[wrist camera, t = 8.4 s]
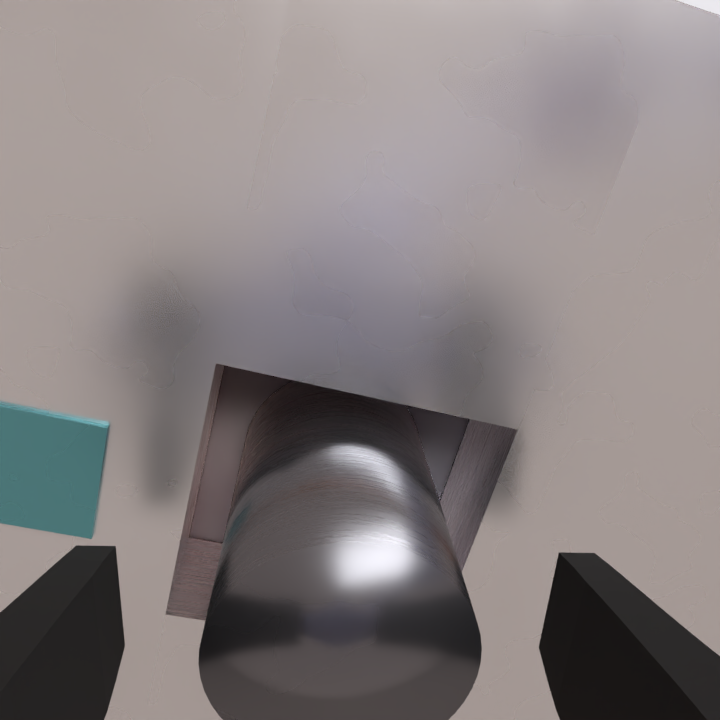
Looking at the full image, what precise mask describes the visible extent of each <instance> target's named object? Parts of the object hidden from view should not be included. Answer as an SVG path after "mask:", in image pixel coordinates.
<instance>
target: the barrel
mask: <svg viewBox="0 0 720 720" xmlns="http://www.w3.org/2000/svg"><path fill="white" fill-rule="evenodd" d="M481 652H482V645H481V634H480V631H479V627H478V623H477V620H476V616H475V613H474V610H473V607H472V604H471V600H470V597H469V594H468V591H467V588H466V584H465V581H464V578H463V575H462V572H461V568H460V565H459V562H458V559H457V556H456V552H455V549H454V546H453V543H452V540H451V536H450V533H449V530H448V527H447V524H446V520H445V517H444V514H443V511H442V508H441V504H440V501H439V498H438V495H437V492H436V488H435V485H434V482H433V479H432V476H431V472H430V469H429V466H428V463H427V460H426V456H425V453H424V450H423V447H422V444H421V440H420V437H419V434H418V431H417V428H416V424H415V422H414V420H413V418H412V415H411V414H410V412H409V411H408V409H407V407H406V406H405V405H403V404H399V403H394V402H390V401H385V400H381V399H376V398H372V397H367V396H362V395H358V394H353V393H349V392H344V391H340V390H335V389H330V388H326V387H321V386H317V385H312V384H308V383H303V382H299V381H292V382H290V383H288V384H287V385H285V386H283V387H281V388H280V389H279V390H277V391H276V392H275V393H273V394H272V395H271V396H270V397H269V398H268V399H267V400H266V401H265V402H264V403H263V404H262V405H261V407H260V408H259V409H258V411H257V412H256V414H255V416H254V418H253V419H252V421H251V424H250V427H249V429H248V432H247V437H246V441H245V446H244V450H243V455H242V459H241V464H240V468H239V473H238V477H237V482H236V486H235V491H234V495H233V500H232V504H231V509H230V513H229V517H228V522H227V526H226V531H225V535H224V540H223V544H222V549H221V553H220V558H219V562H218V567H217V571H216V576H215V580H214V585H213V589H212V594H211V598H210V602H209V607H208V611H207V616H206V620H205V625H204V629H203V634H202V638H201V643H200V648H199V662H198V665H199V672H200V679H201V682H202V685H203V688H204V692H205V694H206V696H207V698H208V700H209V702H210V704H211V705H212V707H213V708H214V709H215V711H216V712H217V714H218V715H219V716H220V717H221V718H222V719H223V720H449V719H450V718H451V717H452V716H453V715H454V714H455V713H456V711H457V710H458V709H459V708H460V706H461V705H462V704H463V703H464V701H465V700H466V698H467V696H468V695H469V693H470V691H471V690H472V688H473V685H474V683H475V680H476V678H477V675H478V671H479V667H480V663H481Z"/></svg>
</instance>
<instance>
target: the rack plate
mask: <svg viewBox="0 0 720 720" xmlns="http://www.w3.org/2000/svg"><path fill="white" fill-rule="evenodd" d="M224 365H226V366H230V367H235V368H239V369H244V370H248V371H253V372H257V373H262V374H267V375H271V376H276V377H280V378H285V379H289V380H294V381H299V382H303V383H308V384H312V385H317V386H321V387H326V388H330V389H335V390H340V391H344V392H349V393H353V394H358V395H362V396H367V397H372V398H376V399H381V400H385V401H390V402H394V403H399V404H403V405H408V406H413V407H417V408H422V409H426V410H431V411H435V412H440V413H445V414H449V415H454V416H458V417H463V418H467V419H470V420H469V423H468V425H467V428H466V431H465V434H464V437H463V439H462V442H461V445H460V448H459V450H458V453H457V456H456V459H455V461H454V464H453V467H452V470H451V472H450V475H449V478H448V481H447V484H446V486H445V489H444V492H443V495H442V497H441V500H440V504H441V508H442V511H443V514H444V517H445V520H446V524H447V527H448V530H449V533H450V536H451V540H452V543H453V546H454V549H455V552H456V556H457V559H458V562H459V565H460V568H461V572H462V575H463V578H464V581H465V584H466V588H467V591H468V594H469V597H470V600H471V604H472V607H473V610H474V613H475V616H476V620H477V623H478V627H479V631H480V634H481V645H482V652H481V663H480V667H479V671H478V675H477V678H476V680H475V683H474V685H473V688H472V690H471V691H470V693H469V695H468V696H467V698H466V700H465V701H464V703H463V704H462V705H461V706H460V708H459V709H458V710H457V711H456V713H455V714H454V715H453V716H452V717H451V718H450V719H449V720H560V719H559V716H558V714H557V711H556V708H555V705H554V701H553V698H552V695H551V691H550V688H549V684H548V681H547V677H546V673H545V669H544V666H543V662H542V658H541V654H540V650H539V643H540V638H541V634H542V629H543V624H544V620H545V615H546V610H547V605H548V601H549V596H550V591H551V587H552V582H553V577H554V573H555V568H556V563H557V558H558V554H559V552H565V553H595V554H596V555H598V556H599V557H600V558H602V559H603V560H604V561H605V562H607V563H608V564H609V565H610V566H612V567H613V568H614V569H615V570H617V571H618V572H619V573H620V574H621V575H623V576H624V577H625V578H626V579H627V580H628V581H630V582H631V583H632V584H633V585H634V586H636V587H637V588H638V589H639V590H640V591H642V592H643V593H644V594H645V595H646V596H647V597H649V598H650V599H651V600H652V601H653V602H655V603H656V604H657V605H658V606H659V607H660V608H662V609H663V610H664V611H665V612H666V613H668V614H669V615H670V616H671V617H672V618H674V619H675V620H676V621H677V622H678V623H680V624H681V625H682V626H683V627H684V628H686V629H687V630H688V631H689V632H691V633H692V634H693V635H694V636H695V637H697V638H698V639H699V640H700V641H702V642H703V643H704V644H705V645H707V646H708V647H709V648H710V649H712V650H713V651H714V652H715V653H717V654H718V655H719V656H720V15H717V14H714V13H711V12H708V11H705V10H702V9H700V8H697V7H694V6H691V5H688V4H685V3H682V2H679V1H676V0H0V612H1V611H2V610H4V609H5V608H6V607H7V606H8V605H9V604H10V603H11V602H13V601H14V600H15V599H16V598H17V597H18V596H19V595H20V594H22V593H23V592H24V591H25V590H26V589H27V588H28V587H30V586H31V585H32V584H33V583H34V582H35V581H36V580H37V579H38V578H40V577H41V576H42V575H43V574H44V573H45V572H46V571H47V570H49V569H50V568H51V567H52V566H53V565H54V564H55V563H56V562H58V561H59V560H60V559H61V558H62V557H63V556H65V555H66V554H67V553H68V552H69V551H70V550H72V549H73V548H74V547H75V546H76V545H81V546H116V554H117V565H118V576H119V587H120V597H121V608H122V619H123V629H124V640H125V648H124V652H123V656H122V660H121V663H120V667H119V671H118V675H117V679H116V682H115V686H114V690H113V693H112V697H111V700H110V704H109V707H108V711H107V714H106V716H105V719H104V720H223V719H222V718H221V717H220V716H219V715H218V714H217V712H216V711H215V709H214V708H213V707H212V705H211V704H210V702H209V700H208V698H207V696H206V694H205V692H204V688H203V685H202V682H201V679H200V672H199V665H198V662H199V648H200V643H201V638H202V634H203V629H204V625H205V620H206V616H207V611H208V607H209V602H210V598H211V594H212V589H213V585H214V580H215V576H216V571H217V567H218V562H219V558H220V553H221V549H222V544H223V543H218V542H213V541H207V540H201V539H196V538H190V537H189V535H190V530H191V525H192V520H193V515H194V511H195V506H196V501H197V496H198V491H199V486H200V481H201V477H202V472H203V467H204V462H205V457H206V452H207V447H208V443H209V438H210V433H211V428H212V423H213V418H214V413H215V409H216V404H217V399H218V394H219V389H220V384H221V379H222V375H223V370H224Z"/></svg>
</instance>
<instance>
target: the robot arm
mask: <svg viewBox="0 0 720 720" xmlns="http://www.w3.org/2000/svg"><path fill="white" fill-rule="evenodd" d="M124 648H125V640H124V629H123V619H122V608H121V597H120V587H119V576H118V565H117V554H116V546H81V545H76V546H75V547H74V548H73V549H72V550H70V551H69V552H68V553H67V554H66V555H65V556H63V557H62V558H61V559H60V560H59V561H58V562H56V563H55V564H54V565H53V566H52V567H51V568H50V569H49V570H47V571H46V572H45V573H44V574H43V575H42V576H41V577H40V578H38V579H37V580H36V581H35V582H34V583H33V584H32V585H31V586H30V587H28V588H27V589H26V590H25V591H24V592H23V593H22V594H20V595H19V596H18V597H17V598H16V599H15V600H14V601H13V602H11V603H10V604H9V605H8V606H7V607H6V608H5V609H4V610H2V611H1V612H0V720H104V719H105V716H106V714H107V711H108V707H109V704H110V700H111V697H112V693H113V690H114V686H115V682H116V679H117V675H118V671H119V667H120V663H121V660H122V656H123V652H124ZM539 650H540V654H541V658H542V662H543V666H544V669H545V673H546V677H547V681H548V684H549V688H550V691H551V695H552V698H553V701H554V705H555V708H556V711H557V714H558V716H559V719H560V720H720V656H719V655H718V654H717V653H715V652H714V651H713V650H712V649H710V648H709V647H708V646H707V645H705V644H704V643H703V642H702V641H700V640H699V639H698V638H697V637H695V636H694V635H693V634H692V633H691V632H689V631H688V630H687V629H686V628H684V627H683V626H682V625H681V624H680V623H678V622H677V621H676V620H675V619H674V618H672V617H671V616H670V615H669V614H668V613H666V612H665V611H664V610H663V609H662V608H660V607H659V606H658V605H657V604H656V603H655V602H653V601H652V600H651V599H650V598H649V597H647V596H646V595H645V594H644V593H643V592H642V591H640V590H639V589H638V588H637V587H636V586H634V585H633V584H632V583H631V582H630V581H628V580H627V579H626V578H625V577H624V576H623V575H621V574H620V573H619V572H618V571H617V570H615V569H614V568H613V567H612V566H610V565H609V564H608V563H607V562H605V561H604V560H603V559H602V558H600V557H599V556H598V555H596V554H595V553H565V552H559V554H558V558H557V563H556V568H555V573H554V577H553V582H552V587H551V591H550V596H549V601H548V605H547V610H546V615H545V620H544V624H543V629H542V634H541V638H540V643H539Z"/></svg>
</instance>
